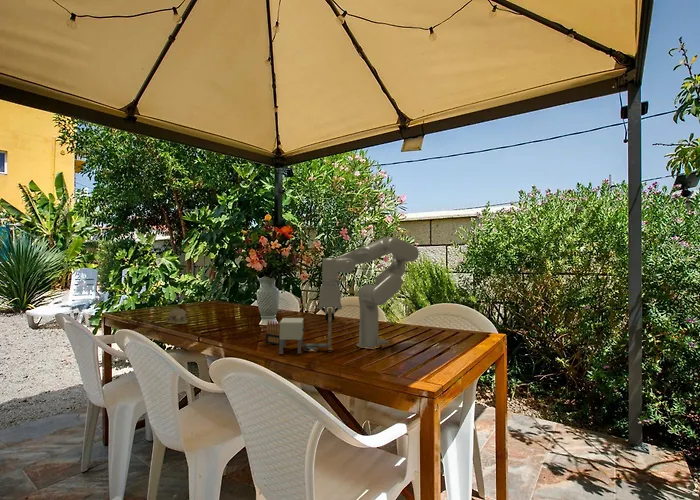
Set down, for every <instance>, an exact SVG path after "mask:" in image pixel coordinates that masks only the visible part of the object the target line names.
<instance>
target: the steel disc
mask: <svg viewBox="0 0 700 500" xmlns="http://www.w3.org/2000/svg"><path fill="white" fill-rule="evenodd" d="M307 350H308V351H316V350H317V351H318V348H307Z"/></svg>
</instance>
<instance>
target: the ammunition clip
mask: <svg viewBox="0 0 700 500" xmlns="http://www.w3.org/2000/svg"><path fill="white" fill-rule="evenodd" d="M279 340H280V321H278V322H277V321H274V320H267V323H266V333H265V344H266V343H270V344H269V345H271V344H276V345H275V346H277V345H279Z"/></svg>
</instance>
